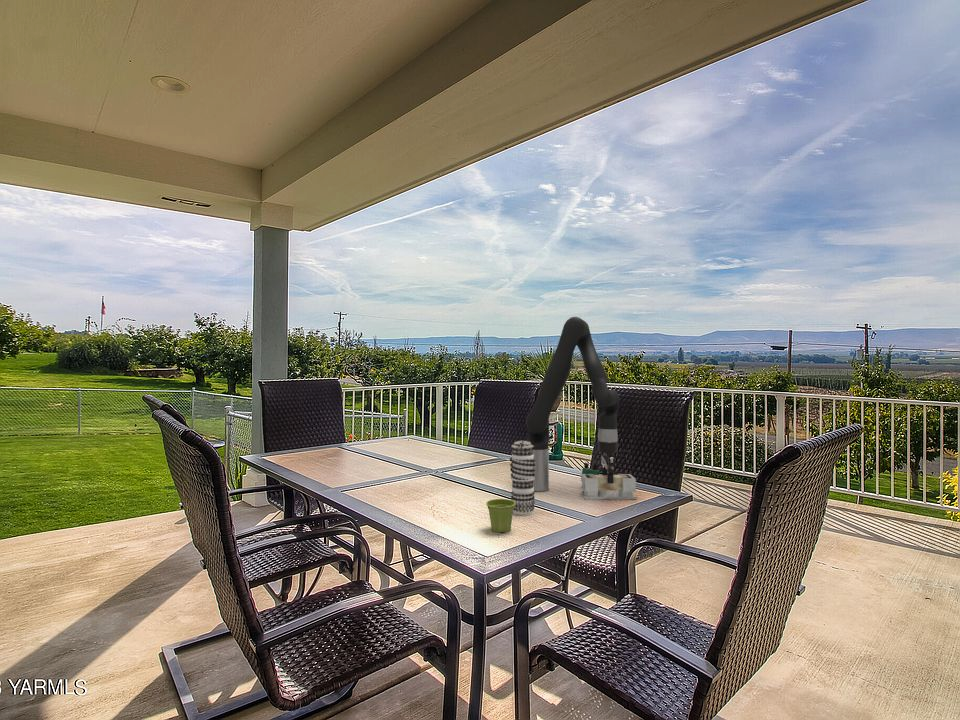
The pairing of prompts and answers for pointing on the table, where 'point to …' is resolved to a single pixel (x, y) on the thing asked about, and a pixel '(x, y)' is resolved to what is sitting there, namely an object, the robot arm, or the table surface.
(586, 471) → the binoculars
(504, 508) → the plant pot
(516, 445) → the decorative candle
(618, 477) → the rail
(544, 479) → the robot arm
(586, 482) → the cup bracket
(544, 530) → the table surface
